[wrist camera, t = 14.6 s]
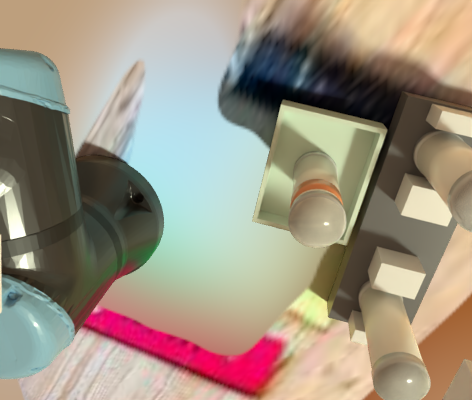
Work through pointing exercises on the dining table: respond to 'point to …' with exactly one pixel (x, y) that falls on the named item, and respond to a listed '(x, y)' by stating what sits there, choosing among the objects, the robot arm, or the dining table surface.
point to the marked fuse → (316, 201)
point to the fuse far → (392, 346)
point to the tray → (325, 140)
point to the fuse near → (448, 171)
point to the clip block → (399, 216)
